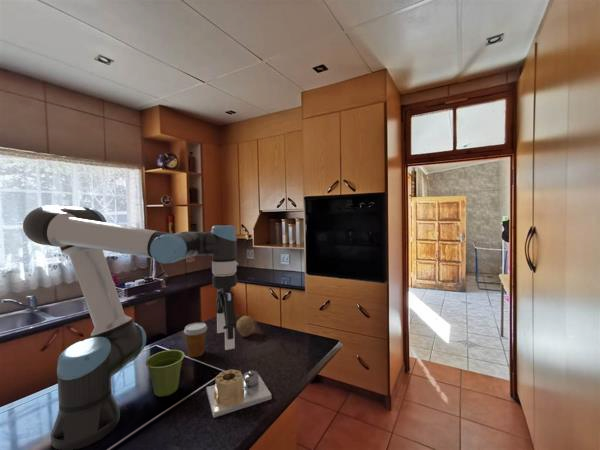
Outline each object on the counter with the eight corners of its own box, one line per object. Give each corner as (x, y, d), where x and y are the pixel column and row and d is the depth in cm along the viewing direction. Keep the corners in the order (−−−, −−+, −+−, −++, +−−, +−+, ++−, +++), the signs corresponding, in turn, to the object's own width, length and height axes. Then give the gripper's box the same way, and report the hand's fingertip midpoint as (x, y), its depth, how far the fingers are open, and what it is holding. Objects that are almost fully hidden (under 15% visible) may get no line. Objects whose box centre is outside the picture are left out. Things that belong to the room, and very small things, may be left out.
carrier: (213, 417, 81) (212, 397, 81) (206, 391, 94) (206, 373, 94) (271, 399, 89) (271, 380, 89) (257, 377, 102) (257, 360, 102)
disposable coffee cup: (179, 357, 118) (178, 329, 117) (194, 347, 127) (194, 321, 126) (198, 360, 114) (197, 331, 114) (212, 350, 123) (211, 323, 123)
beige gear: (217, 408, 83) (217, 388, 83) (212, 391, 91) (212, 373, 91) (247, 398, 87) (246, 379, 87) (239, 383, 95) (239, 366, 95)
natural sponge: (236, 333, 142) (236, 313, 142) (254, 331, 144) (254, 312, 143) (236, 340, 133) (235, 319, 133) (255, 338, 135) (254, 318, 134)
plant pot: (138, 400, 90) (137, 366, 89) (161, 379, 101) (160, 348, 101) (172, 403, 88) (171, 368, 88) (192, 381, 100) (191, 350, 99)
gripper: (246, 280, 79) (247, 354, 80) (228, 266, 102) (228, 324, 102) (219, 283, 76) (220, 360, 76) (206, 268, 98) (207, 328, 99)
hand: (225, 340), depth 89 cm, fingers open, 13 cm apart
